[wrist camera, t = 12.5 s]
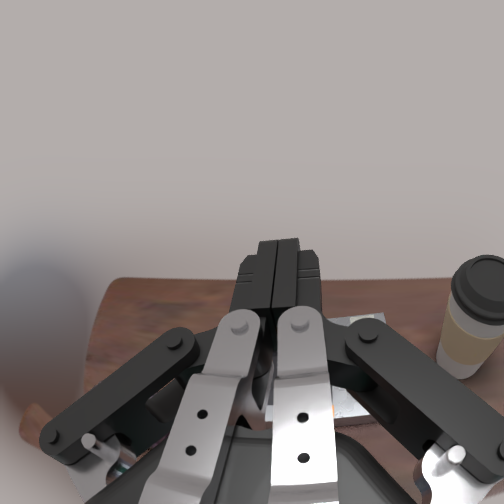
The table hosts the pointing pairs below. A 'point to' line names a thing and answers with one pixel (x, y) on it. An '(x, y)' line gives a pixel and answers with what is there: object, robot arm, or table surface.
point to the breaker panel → (332, 390)
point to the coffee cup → (473, 316)
